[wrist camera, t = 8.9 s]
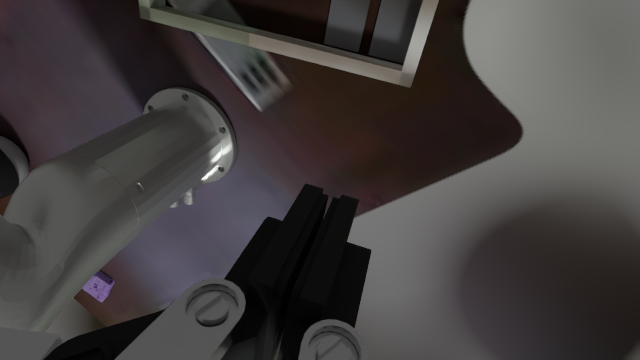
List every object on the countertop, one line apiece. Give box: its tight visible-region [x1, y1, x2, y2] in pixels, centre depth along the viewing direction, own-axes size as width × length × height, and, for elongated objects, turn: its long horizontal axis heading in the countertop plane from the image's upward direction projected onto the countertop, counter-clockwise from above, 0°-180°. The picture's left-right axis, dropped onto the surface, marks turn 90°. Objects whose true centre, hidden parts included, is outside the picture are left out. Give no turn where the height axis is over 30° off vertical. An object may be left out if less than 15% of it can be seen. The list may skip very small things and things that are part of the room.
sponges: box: [82, 270, 115, 302], centre depth 67 cm, size 7×13×2 cm, turn 54°
